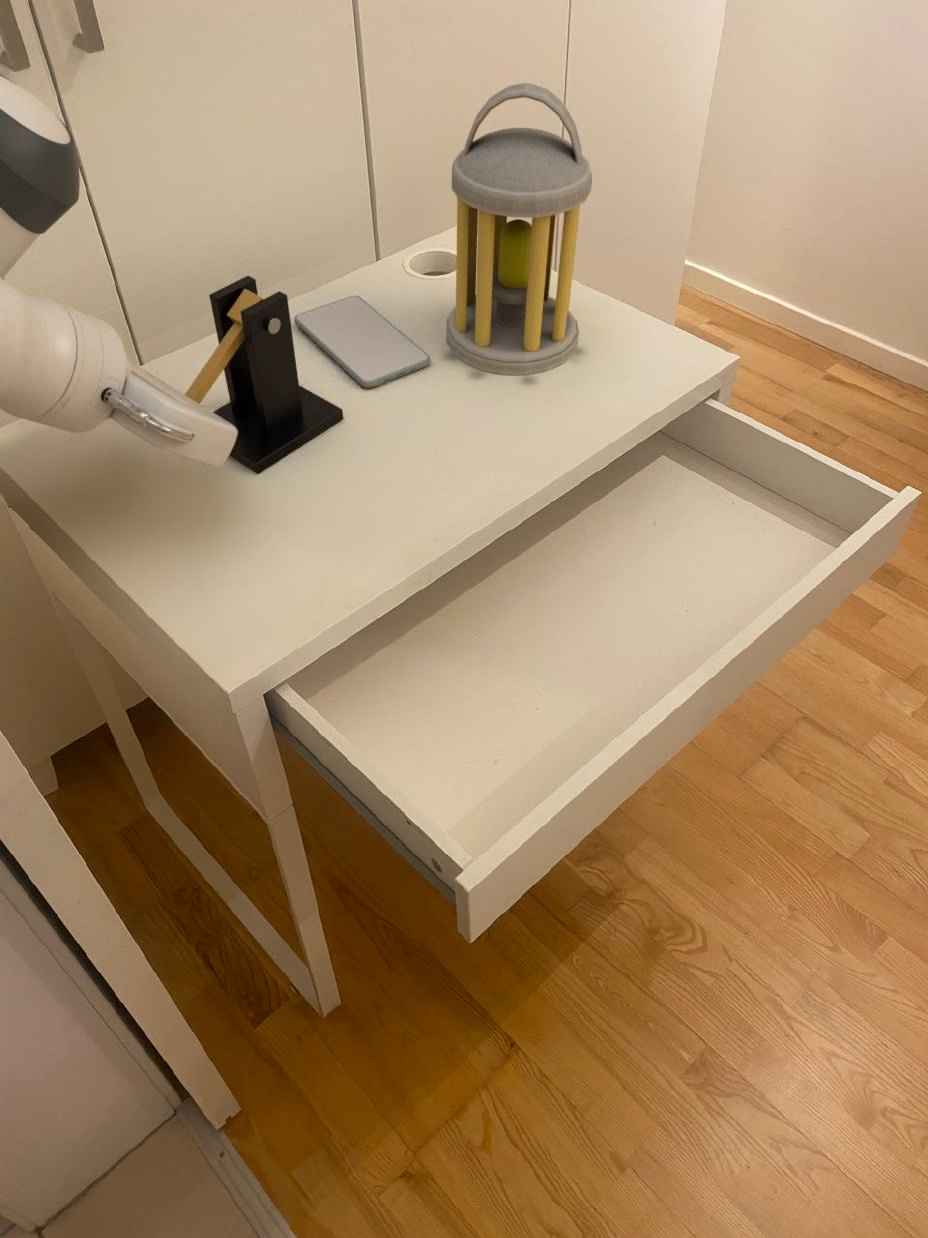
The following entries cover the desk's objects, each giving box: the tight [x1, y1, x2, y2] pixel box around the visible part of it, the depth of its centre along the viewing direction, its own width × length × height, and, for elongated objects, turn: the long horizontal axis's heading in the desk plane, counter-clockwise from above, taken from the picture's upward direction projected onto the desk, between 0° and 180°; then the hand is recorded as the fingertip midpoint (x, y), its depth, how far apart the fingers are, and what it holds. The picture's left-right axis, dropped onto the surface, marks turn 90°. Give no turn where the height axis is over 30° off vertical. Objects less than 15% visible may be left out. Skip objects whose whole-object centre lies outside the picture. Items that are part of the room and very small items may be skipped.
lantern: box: [445, 82, 593, 376], centre depth 94 cm, size 14×14×25 cm
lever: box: [184, 289, 264, 405], centre depth 83 cm, size 12×5×2 cm
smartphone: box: [293, 295, 431, 389], centre depth 101 cm, size 8×1×15 cm
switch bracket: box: [209, 275, 344, 474], centre depth 87 cm, size 11×9×14 cm
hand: (196, 415), depth 84 cm, fingers closed on lever, 5 cm apart
